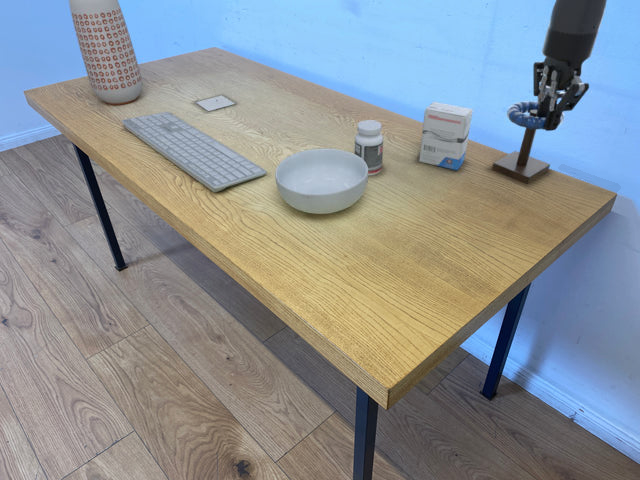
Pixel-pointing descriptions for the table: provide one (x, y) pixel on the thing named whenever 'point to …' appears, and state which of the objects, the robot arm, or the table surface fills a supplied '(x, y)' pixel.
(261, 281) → the table surface
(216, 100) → the coaster
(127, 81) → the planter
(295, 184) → the cereal bowl
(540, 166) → the stand
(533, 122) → the blue teething ring
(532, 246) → the table surface
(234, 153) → the keyboard
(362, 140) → the pill bottle
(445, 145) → the ink box
